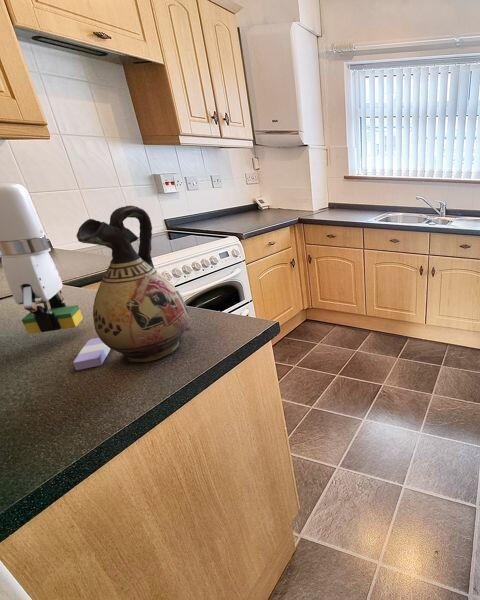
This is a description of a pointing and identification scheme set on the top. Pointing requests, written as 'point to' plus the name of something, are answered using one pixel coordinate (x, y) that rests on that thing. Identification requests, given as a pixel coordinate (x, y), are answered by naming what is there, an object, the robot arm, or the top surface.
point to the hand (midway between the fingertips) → (56, 324)
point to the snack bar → (91, 354)
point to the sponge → (65, 316)
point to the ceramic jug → (134, 292)
